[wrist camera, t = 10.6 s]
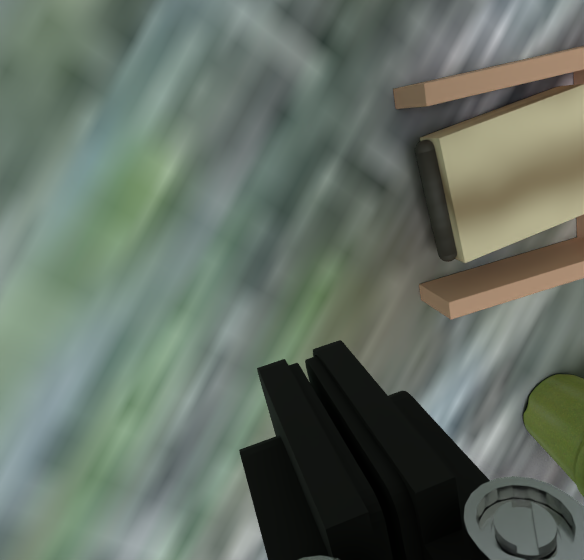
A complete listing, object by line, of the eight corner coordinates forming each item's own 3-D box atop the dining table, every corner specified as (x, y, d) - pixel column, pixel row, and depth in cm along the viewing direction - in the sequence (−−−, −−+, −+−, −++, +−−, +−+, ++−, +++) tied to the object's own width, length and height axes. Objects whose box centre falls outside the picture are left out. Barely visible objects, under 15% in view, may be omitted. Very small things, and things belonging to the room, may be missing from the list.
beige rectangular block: (396, 142, 32) (423, 144, 29) (544, 88, 34) (586, 83, 30) (423, 255, 35) (451, 268, 32) (559, 200, 37) (599, 207, 33)
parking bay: (393, 89, 31) (424, 83, 28) (588, 44, 34) (641, 34, 30) (421, 299, 36) (450, 319, 32) (590, 248, 38) (636, 261, 35)
